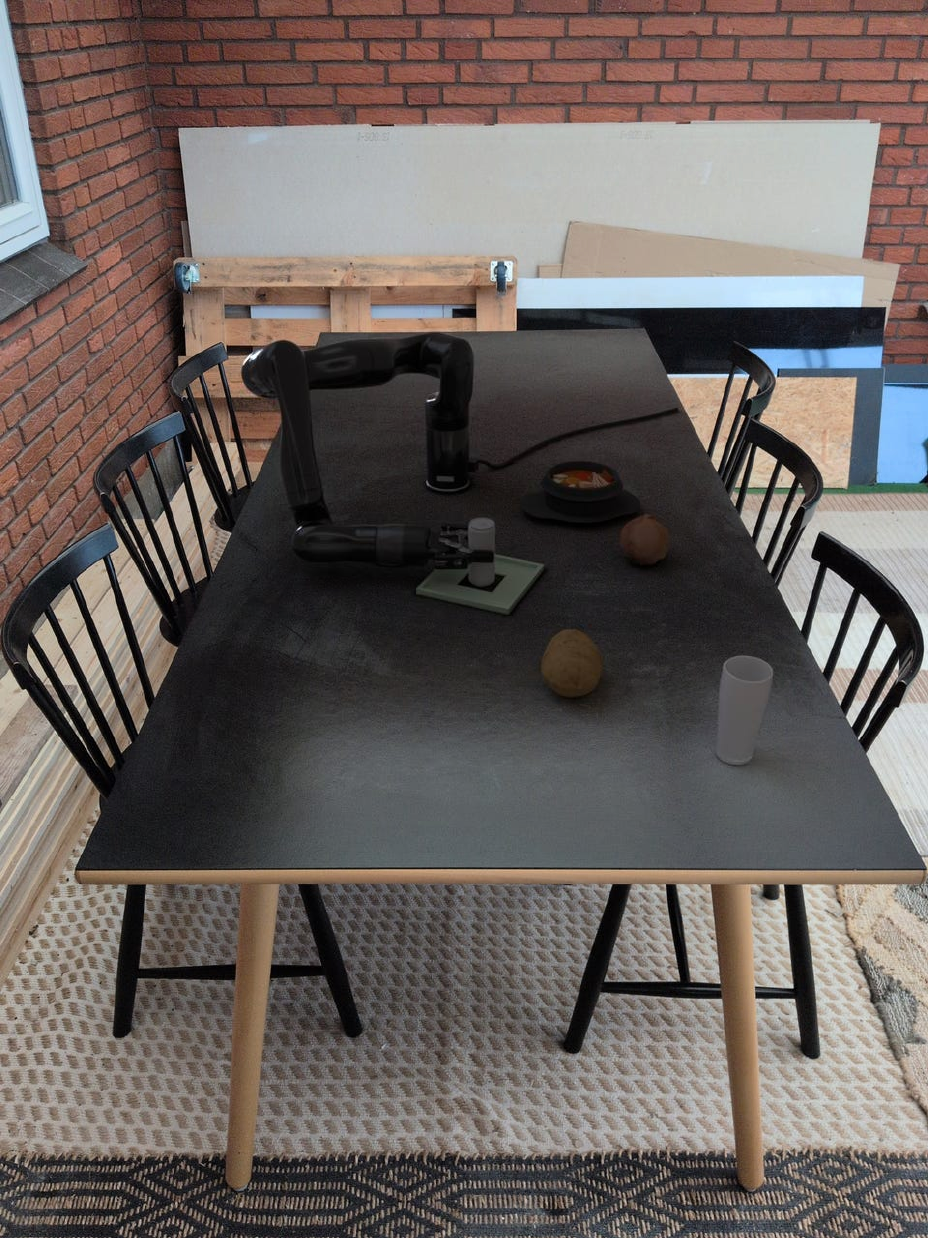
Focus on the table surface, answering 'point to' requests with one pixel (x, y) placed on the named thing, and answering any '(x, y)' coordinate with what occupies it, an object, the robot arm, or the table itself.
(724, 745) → the drinking glass
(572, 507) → the casserole
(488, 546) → the beverage can
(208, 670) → the table surface
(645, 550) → the onion
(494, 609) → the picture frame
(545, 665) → the potato
